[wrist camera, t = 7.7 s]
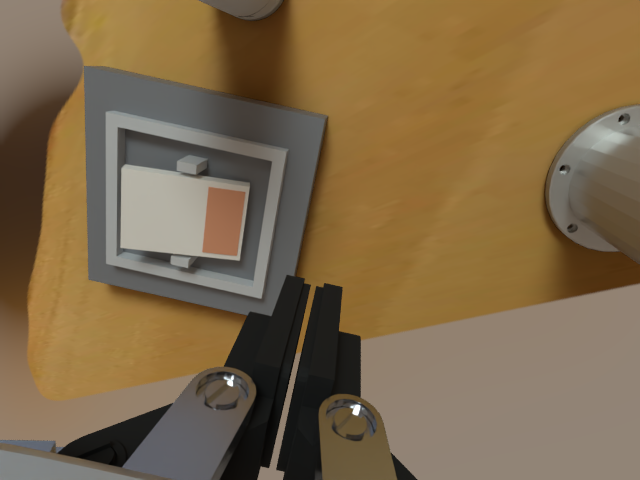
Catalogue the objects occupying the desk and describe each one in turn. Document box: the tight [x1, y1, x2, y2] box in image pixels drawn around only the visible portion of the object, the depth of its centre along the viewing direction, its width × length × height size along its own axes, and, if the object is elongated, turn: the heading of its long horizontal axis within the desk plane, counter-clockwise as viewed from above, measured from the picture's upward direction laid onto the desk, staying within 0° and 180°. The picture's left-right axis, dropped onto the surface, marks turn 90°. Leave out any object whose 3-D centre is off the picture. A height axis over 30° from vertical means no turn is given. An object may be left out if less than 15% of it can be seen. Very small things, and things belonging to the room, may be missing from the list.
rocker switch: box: [120, 164, 250, 261], centre depth 35 cm, size 10×7×1 cm
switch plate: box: [84, 66, 328, 316], centre depth 37 cm, size 20×20×6 cm
